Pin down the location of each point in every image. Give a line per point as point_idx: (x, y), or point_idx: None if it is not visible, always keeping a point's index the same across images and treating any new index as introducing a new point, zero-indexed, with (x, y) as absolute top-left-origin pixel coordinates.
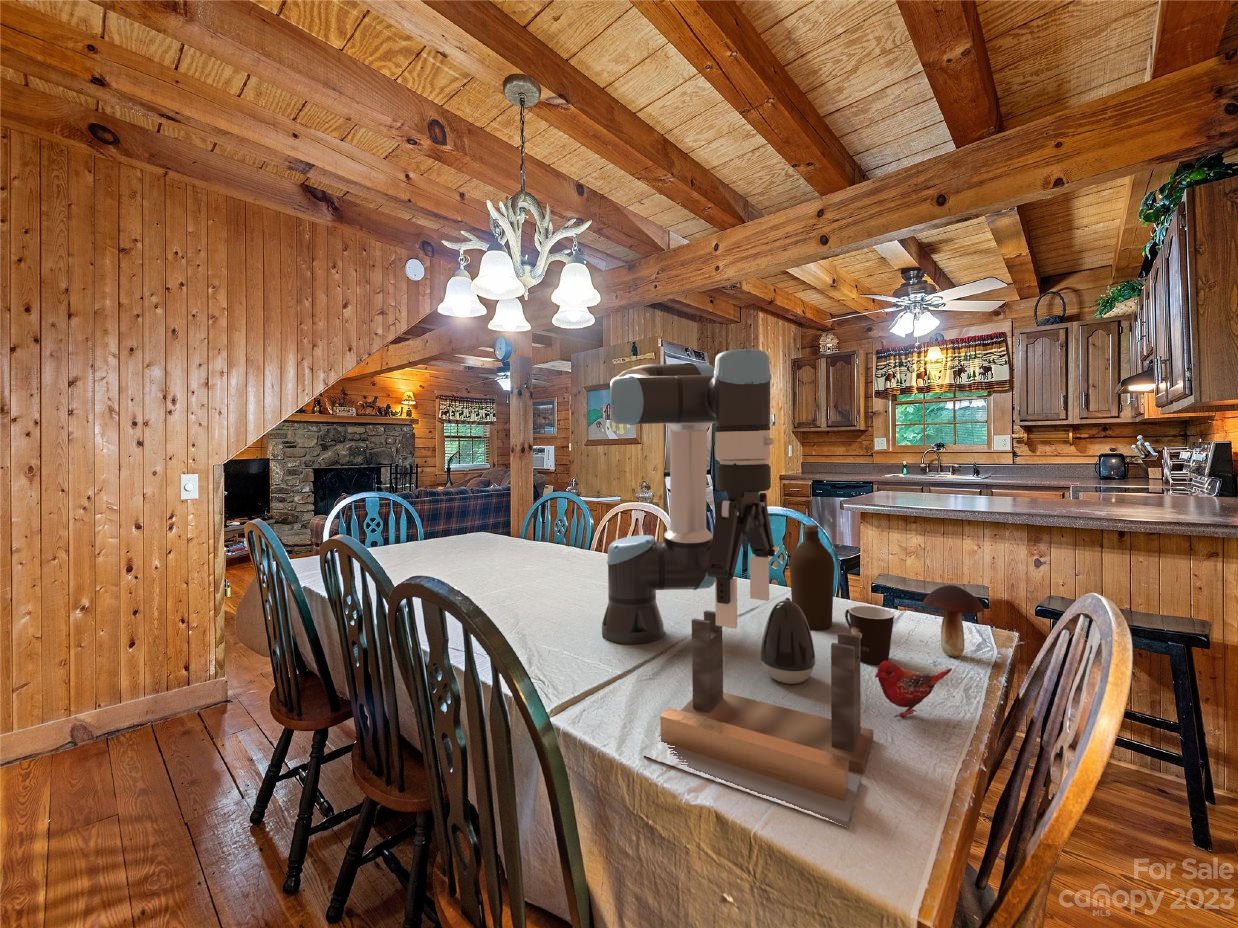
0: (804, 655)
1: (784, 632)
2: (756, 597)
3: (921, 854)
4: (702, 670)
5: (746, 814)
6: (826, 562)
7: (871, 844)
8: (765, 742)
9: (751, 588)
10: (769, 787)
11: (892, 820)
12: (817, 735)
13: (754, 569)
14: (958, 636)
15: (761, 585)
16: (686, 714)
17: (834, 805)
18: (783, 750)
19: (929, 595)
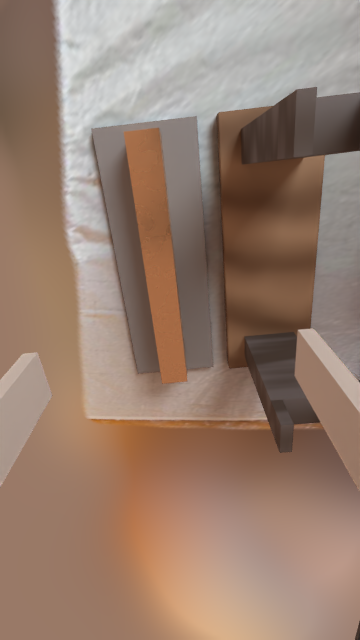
0: None
1: None
2: (298, 350)
3: (146, 413)
4: (258, 145)
5: (92, 296)
6: None
7: (132, 386)
8: (159, 303)
9: (309, 349)
10: (137, 304)
11: (173, 392)
12: (261, 316)
13: (340, 404)
14: None
15: (312, 388)
16: (156, 170)
17: (151, 360)
18: (156, 326)
19: None
